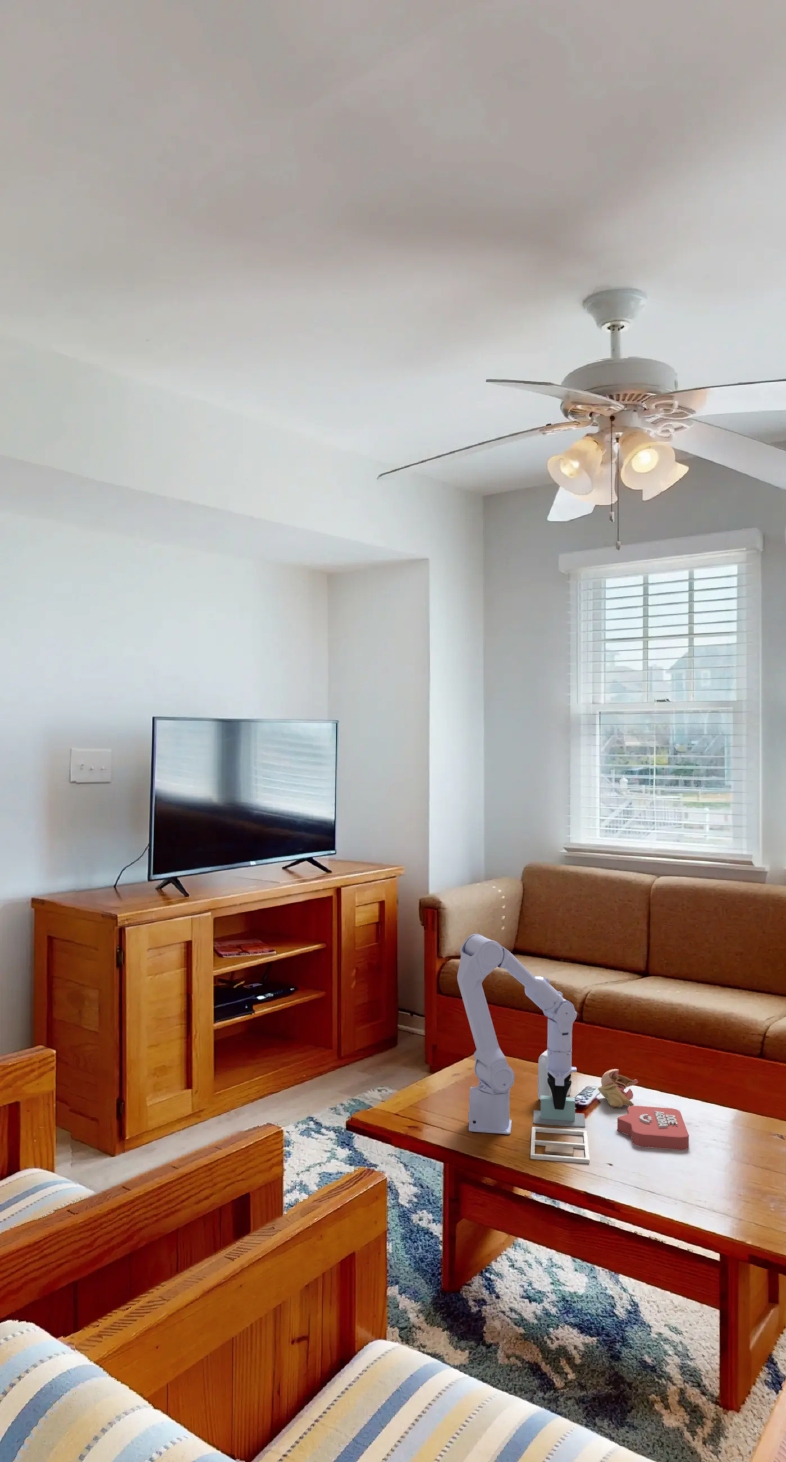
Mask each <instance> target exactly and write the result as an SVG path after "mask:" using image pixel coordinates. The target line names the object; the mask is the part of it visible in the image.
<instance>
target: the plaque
mask: <svg viewBox="0 0 786 1462" xmlns="http://www.w3.org/2000/svg"><path fill="white" fill-rule="evenodd" d="M616 1122H617V1126H616V1128H617V1129H616V1130H617V1131H618V1132H620V1133H622V1134H625V1135H626V1136H629V1137H631V1142H632V1144H633V1145H634V1146H637V1147H640V1148H648V1149H649V1148H652V1149H665V1150H679V1151H685V1150H688V1149H689V1147H690V1146H689V1145H690V1144H689V1143H690V1142H689V1140H690V1139H689V1138H690V1136H689V1135H690V1134H689V1132H688V1129H687V1126H686V1124H685V1121H684V1119H683V1115H682V1113H681V1111H680V1110H678V1109H677V1108H672V1107H658V1106H644V1105H633V1106H629V1105H628V1106H627V1114H622V1115H621V1116H618V1117H617V1121H616Z"/></svg>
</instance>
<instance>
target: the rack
mask: <svg viewBox="0 0 786 1462" xmlns="http://www.w3.org/2000/svg"><path fill="white" fill-rule="evenodd" d="M536 1133H546V1134H547V1133H548V1134H561V1135H573V1136H574V1135H575V1136H583V1142H580V1143H579V1142H568V1141H567V1142H566V1141H554V1140H553V1141H552V1140H540V1139H536ZM530 1137H531V1139H530V1140H531V1141H530V1159H531V1160H541V1161H553V1162H554V1161H555V1162H565V1163H566V1162H567V1163H577V1164H591V1163H590V1161H591V1159H590V1150H589V1149H590V1148H589V1138H588V1131H587V1130H582V1129H581V1130H579V1129H568V1128H556V1127H555V1128H553V1127H540V1126H532V1127H531V1136H530ZM546 1145H556V1146H567V1147H573V1149H581V1150H582V1149H584V1156H585V1157H581V1156H574V1157H569V1156H556V1155H546V1154H542V1153H541V1154H540V1153H536V1152H535V1151H536V1150H535V1149H536V1146H543V1147H546Z"/></svg>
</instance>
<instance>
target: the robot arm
mask: <svg viewBox="0 0 786 1462" xmlns="http://www.w3.org/2000/svg"><path fill="white" fill-rule="evenodd" d="M459 951H460V952H459V953H460V959H459V964H458V965H459V966H458V971H457V976H456V978H457V979H456V980H457V984H458V987H459V991H460V994H461V995H460V996H461V997H462V1002H463V1005H464V1009H465V1013H466V1017H467V1020H468V1023H469V1027H470V1031H471V1034H472V1038H473V1041H474V1044H475V1048H476V1050H475V1051H474V1053H473V1056H474V1067H473V1069H474V1074H475V1076H476V1077H477V1078H478V1085H477V1086H470V1088H469V1098H468V1100H469V1101H468V1104H469V1105H468V1114H467V1116H468V1117H467V1119H468V1131H469V1132H475V1133H487V1134H500V1135H501V1134H503V1135H510V1134H511V1131H512V1124H513V1123H512V1119H510V1099H511V1098H510V1096H511V1093H510V1092H511V1088H512V1087H513V1085H514V1083H515V1072H514V1070H513V1069H512V1067H510V1065H509V1064H508V1061H507V1058H506V1056H505V1054H504V1053H503V1051H502V1050H501V1047H500V1045H499V1042H498V1039H497V1035H496V1031H495V1028H494V1024H493V1020H492V1017H491V1011H490V1010H489V1006H488V1002H487V998H486V996H485V992H484V988H483V984H482V983H483V981H484V980H485V979H486V977H487V976H488V975H489V974H491V973H492V972H493V971H494V970H495V969H496V968H499V969H504V970H505V971H507V973H509V974H510V976H512V977H513V978H514V979H516V981H518V982H519V983H520V984H521V985H522V986H524V993H525V996H526V997H528V999H530V1001H532V1002H533V1003H534V1004H535V1005H536V1006H537V1007H539V1009H540V1010H542V1012H543V1015H544V1016H545V1017H547V1045H546V1048H547V1049H546V1050H547V1067H546V1070H547V1071H548V1073H547V1075H548V1077H549V1078H547V1082H548V1085H549V1087H550V1089H551V1092H552V1097H553V1103H554V1108H555V1109H558V1110H564V1107H565V1102H566V1097H568V1095H567V1092H568V1090H569V1088H570V1086H571V1087H572V1080H571V1081H569V1080H570V1078H571V1079H572V1073H573V1074H574V1073H575V1074H576V1073H577V1067H576V1066H572V1062H573V1060H572V1058H573V1055H572V1053H573V1046H572V1045H573V1024H574V1022H575V1020H576V1019H577V1016H578V1012H577V1011H576V1008H575V1006H574V1004H573V1003H572V1001H570V1000H567V999H565V998H564V997H563V995H564V993H563V992H561V991H559V990H556V989H555V987H554V986H552V985H551V984H550V983H551V980H550V979H549V978H547V977H545V976H544V977H542V976H540V975H536V976H534V975H533V974H532V973H531V972H530V970H529V969H527V967H525V966H524V965H523V963H521V961H520V960H518V958H517V957H516V956H514V954H513V953H511V951H509V950H508V949H507V948H505V947H504V946H502V945H501V943H499V941H498V942H497V941H495V940H493V939H489V938H488V937H485V936H484V935H482V934H479V933H474V934H473V933H472V934H470V935H469V936H468V937H467V938H466V939H465V941H464V942H463V943H462V945H461V946H460V948H459Z"/></svg>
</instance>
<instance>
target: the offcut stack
mask: <svg viewBox="0 0 786 1462" xmlns="http://www.w3.org/2000/svg"><path fill="white" fill-rule="evenodd" d="M544 1153H545V1155H556V1156H569V1157H575V1148H573V1147H567V1146H556V1145H546V1146H545V1149H544Z"/></svg>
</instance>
